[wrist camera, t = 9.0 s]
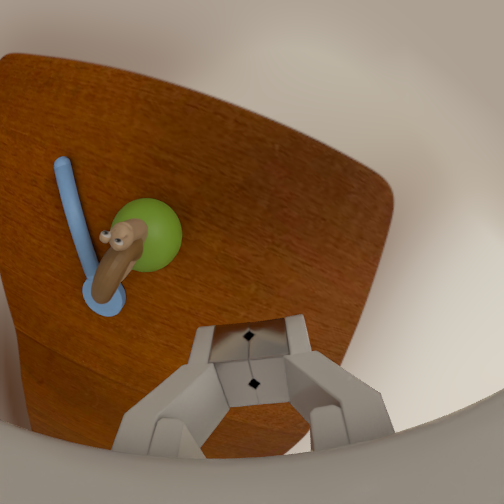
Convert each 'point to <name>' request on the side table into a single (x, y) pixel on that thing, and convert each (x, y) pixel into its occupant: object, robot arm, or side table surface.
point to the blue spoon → (83, 238)
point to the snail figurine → (136, 244)
